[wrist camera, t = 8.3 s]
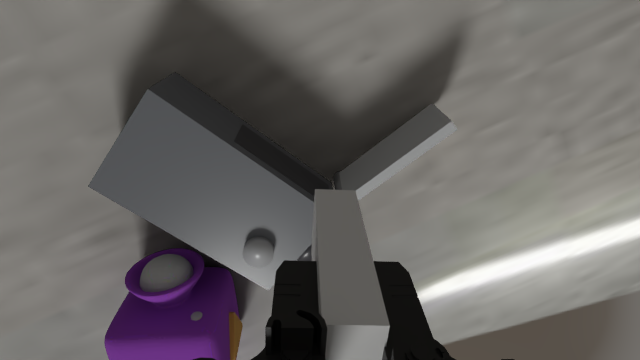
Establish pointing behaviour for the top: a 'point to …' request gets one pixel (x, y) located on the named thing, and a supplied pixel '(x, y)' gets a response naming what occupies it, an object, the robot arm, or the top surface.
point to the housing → (212, 181)
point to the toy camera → (176, 311)
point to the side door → (395, 152)
